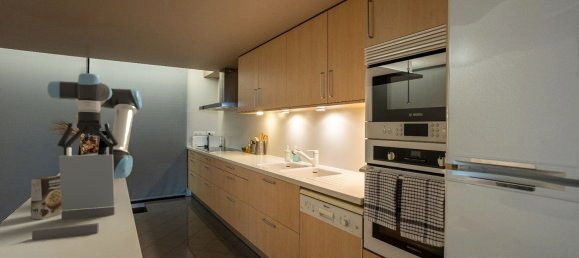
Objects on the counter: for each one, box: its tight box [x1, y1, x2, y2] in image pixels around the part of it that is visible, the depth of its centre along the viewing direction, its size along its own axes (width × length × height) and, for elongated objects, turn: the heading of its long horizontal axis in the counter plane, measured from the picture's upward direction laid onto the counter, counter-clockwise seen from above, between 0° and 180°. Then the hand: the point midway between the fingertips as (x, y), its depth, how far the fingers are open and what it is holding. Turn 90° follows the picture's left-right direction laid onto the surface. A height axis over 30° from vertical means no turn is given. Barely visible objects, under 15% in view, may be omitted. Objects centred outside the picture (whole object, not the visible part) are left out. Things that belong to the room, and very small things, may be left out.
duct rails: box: [31, 206, 116, 241], centre depth 103 cm, size 23×18×3 cm
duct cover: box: [58, 154, 116, 211], centre depth 112 cm, size 22×18×1 cm
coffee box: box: [30, 175, 66, 220], centre depth 114 cm, size 9×6×16 cm
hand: (89, 163), depth 113 cm, fingers open, 13 cm apart
